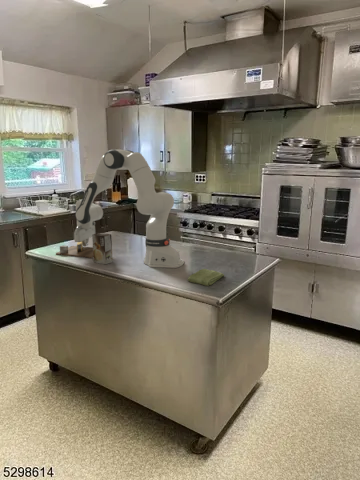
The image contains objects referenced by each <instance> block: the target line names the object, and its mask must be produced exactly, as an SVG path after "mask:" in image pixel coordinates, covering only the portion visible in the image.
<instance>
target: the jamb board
mask: <svg viewBox="0 0 360 480" xmlns="http://www.w3.org/2000/svg"><path fill="white" fill-rule="evenodd" d="M55 255H56V256H64V257H67V256H68V257H76V258H88V259H94V255H93V246H92V247H91V246H83V249H82V252H78V251H77V245H71V246H68V245H65V244H64V245H63V244H61V245H60V246H59V251H58V252H55Z"/></svg>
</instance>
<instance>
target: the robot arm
mask: <svg viewBox="0 0 360 480" xmlns="http://www.w3.org/2000/svg"><path fill="white" fill-rule="evenodd" d="M118 170H121V171H124V170H125V171H126V170H128V171H129V173H130V174H129V175H130V176H131V178H132V180H133V182H134V184H135V186H136V190H137V195H138V197H137V201H136V209H137V211H138V213H140V215H141V214H142V215H144V216H149V215H150V217H149V219H148V221H147V222H146V223H145V232H146V234H145V243H144V244H145V257H144V260H143V264H145V265H146V266H148V267H150V268H172V269H175V268H176V269H177V268H180V267H182V266H183V264H184V263H185V262H184V259H182V258H181V257H180V251H178V250H177V249H176V248H175V247H173V246H172V245H171V243H170V242H171V238H168V237H167V224H168V223H167V222H168V218H169V214H170V213H171V210H172V208H173V207H174V205H175V200H174V199H175V198H174V196H173V195H172V194H171V193H168V192H165V191H161V192H160V191H159V192H157V191H156V190H155V189H156V188H155V184H156V178H155V175H154V174H153V171H152V169H151V167H150V165H149V163H148V162H147V159H146V158H145V157H144V156H143V154H142V153H140V152H137V151H136V152H135V151H132V150H126V149H110V150H107V151H106V152H105V153H104V155H102V156H101V158H100V159H99V161H98V164H97V167H96V169H95V173H94V175H93V177H92V179H91V181H90V182H89V184H88V186H86V189H85V192H84V194H83V196H82V198H81V199H78V200H77V201H76V202H75V214H74V215H75V216H74V217H75V219H76V227H75V229H74V233H73V239H74V243H78V242H81V241H82V243H83V247H88V246H89V242H90V241H89V240H90V238H92V235H93V234H96V222H95V221H99V220H101V219H102V218H103V217H104V210H103V207H102V206H101V205H100V204H95V203H93V202H94V200H95V198H96V197H97V195H99V194H100V193H102V192H103V191H105V190H107V189H109V188H110V187H111V186H112V184H113V183H114V179H115V176H116V173H117V171H118Z"/></svg>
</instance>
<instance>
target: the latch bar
mask: <svg viewBox="0 0 360 480" xmlns="http://www.w3.org/2000/svg"><path fill="white" fill-rule="evenodd" d="M76 246H77V251H78V252H82V249H83V247H84V246H83V243H82V241H81V242H76Z"/></svg>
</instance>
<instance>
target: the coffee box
mask: <svg viewBox="0 0 360 480" xmlns="http://www.w3.org/2000/svg"><path fill="white" fill-rule="evenodd" d="M91 238H92V248H93V255H94V257H93V263H96V264H101V265H108V264H111V263H113V262H114V261H113V243H112V240H113V239H112V233H111V234H110V233H104V232H95V234H93V235H92V237H91Z"/></svg>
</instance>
